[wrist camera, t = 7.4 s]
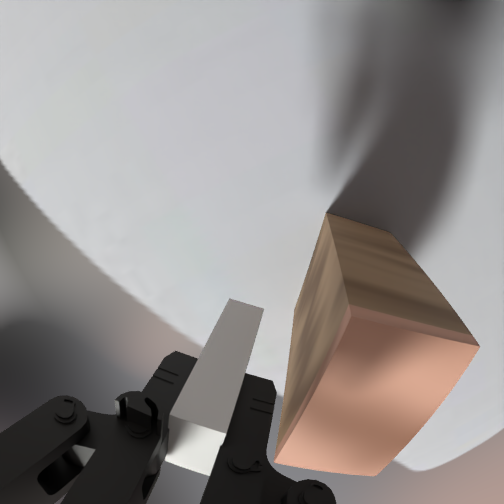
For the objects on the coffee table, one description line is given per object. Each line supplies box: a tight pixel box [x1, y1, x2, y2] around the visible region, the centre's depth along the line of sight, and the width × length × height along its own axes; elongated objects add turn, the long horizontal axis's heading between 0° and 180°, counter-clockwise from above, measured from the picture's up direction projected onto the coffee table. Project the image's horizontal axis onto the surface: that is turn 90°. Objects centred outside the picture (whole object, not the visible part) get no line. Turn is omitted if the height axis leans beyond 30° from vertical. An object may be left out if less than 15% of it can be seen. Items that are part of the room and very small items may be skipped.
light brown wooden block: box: [274, 213, 480, 476], centre depth 16 cm, size 8×5×14 cm, turn 167°
